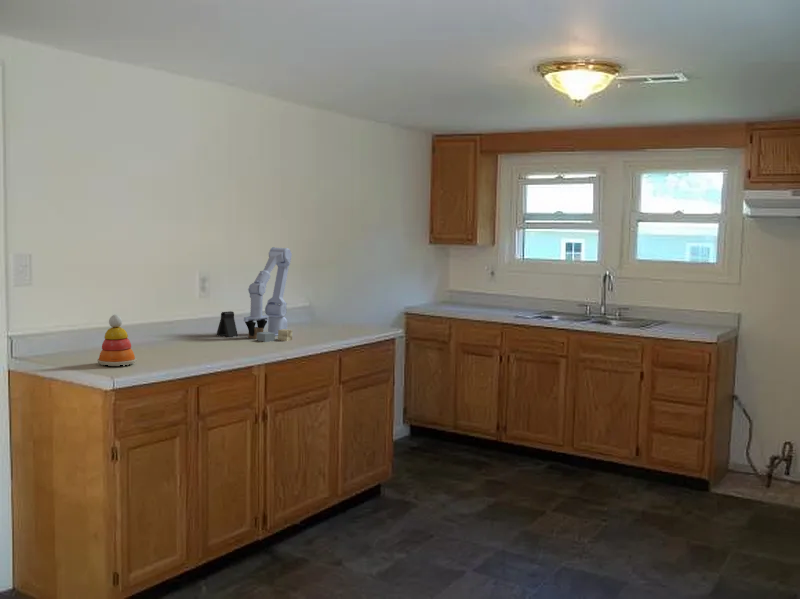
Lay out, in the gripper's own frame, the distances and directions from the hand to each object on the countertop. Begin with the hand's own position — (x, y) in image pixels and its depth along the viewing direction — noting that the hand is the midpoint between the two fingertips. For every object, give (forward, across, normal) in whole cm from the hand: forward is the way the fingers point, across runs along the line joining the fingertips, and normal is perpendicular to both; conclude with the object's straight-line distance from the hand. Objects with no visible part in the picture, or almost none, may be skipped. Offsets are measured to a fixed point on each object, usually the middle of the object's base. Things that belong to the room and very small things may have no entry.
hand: (255, 335), depth 392 cm
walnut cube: (+1, 0, 0) cm, 1 cm away
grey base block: (+2, +2, +9) cm, 9 cm away
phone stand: (+2, +6, -14) cm, 15 cm away
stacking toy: (+2, +89, +18) cm, 91 cm away
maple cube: (+2, -7, +13) cm, 15 cm away
